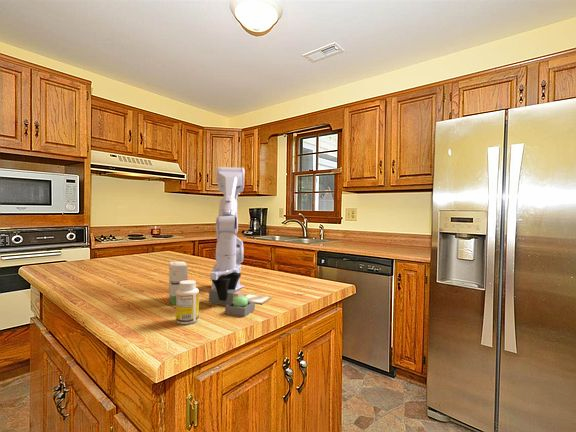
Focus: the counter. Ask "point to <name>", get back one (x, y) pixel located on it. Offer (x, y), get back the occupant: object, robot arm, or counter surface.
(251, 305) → the button housing
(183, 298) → the supplement bottle
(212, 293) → the grey rectangular block
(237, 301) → the button
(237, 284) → the robot arm
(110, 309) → the counter surface
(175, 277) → the ink box
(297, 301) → the counter surface
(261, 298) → the sheet
